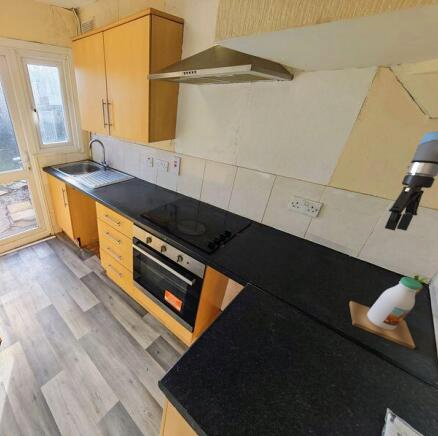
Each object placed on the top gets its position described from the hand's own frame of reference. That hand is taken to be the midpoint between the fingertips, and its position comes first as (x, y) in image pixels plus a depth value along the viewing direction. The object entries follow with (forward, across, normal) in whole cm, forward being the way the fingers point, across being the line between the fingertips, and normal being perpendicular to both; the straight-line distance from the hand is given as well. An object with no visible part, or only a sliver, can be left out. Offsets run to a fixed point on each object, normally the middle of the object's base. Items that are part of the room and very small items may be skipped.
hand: (395, 229), depth 89 cm
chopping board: (+34, +13, +9) cm, 38 cm away
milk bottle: (+33, +13, +9) cm, 37 cm away
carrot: (+29, -7, +8) cm, 31 cm away
